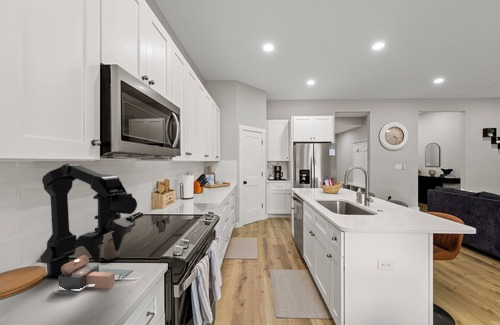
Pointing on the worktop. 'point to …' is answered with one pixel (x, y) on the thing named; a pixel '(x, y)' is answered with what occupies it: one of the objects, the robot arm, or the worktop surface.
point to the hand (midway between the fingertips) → (107, 256)
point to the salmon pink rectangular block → (100, 279)
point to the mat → (117, 272)
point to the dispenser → (76, 273)
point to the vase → (109, 250)
